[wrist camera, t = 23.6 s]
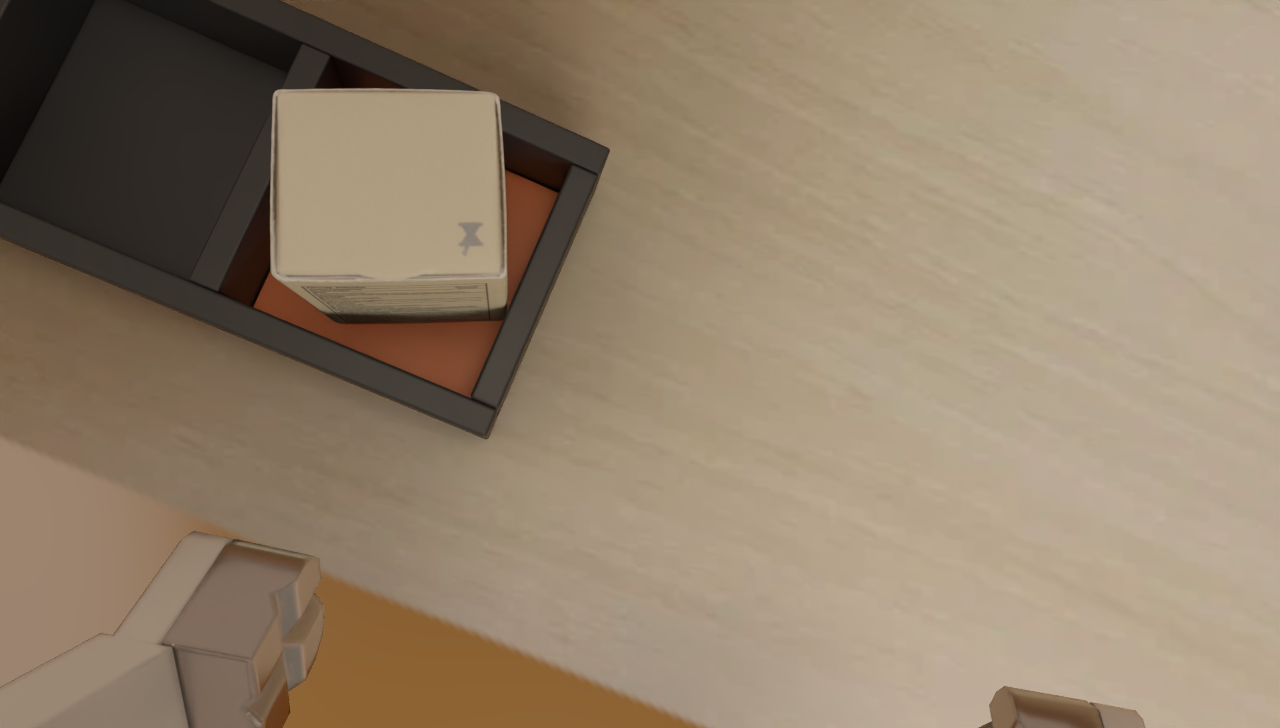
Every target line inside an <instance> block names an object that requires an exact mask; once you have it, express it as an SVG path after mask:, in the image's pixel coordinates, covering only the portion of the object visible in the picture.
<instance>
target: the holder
mask: <svg viewBox="0 0 1280 728" xmlns="http://www.w3.org/2000/svg"><path fill="white" fill-rule="evenodd" d="M339 88H340V89H356V88H359V89H372V88H381V89H434V90H462V91H480V90H478V89H476V88H474V87H471V86H469V85H467V84H465V83H462V82H460V81H458V80H456V79H454V78H451V77H449V76H447V75H445V74H442V73H440V72H438V71H436V70H433V69H431V68H429V67H427V66H425V65H422V64H420V63H418V62H416V61H413V60H411V59H409V58H407V57H405V56H402V55H400V54H398V53H396V52H393V51H391V50H389V49H387V48H384V47H382V46H380V45H378V44H376V43H373V42H371V41H369V40H367V39H364V38H362V37H360V36H358V35H355V34H353V33H351V32H349V31H347V30H344V29H342V28H340V27H338V26H335V25H333V24H331V23H329V22H327V21H324V20H322V19H320V18H318V17H315V16H313V15H311V14H309V13H306V12H304V11H302V10H300V9H298V8H295V7H293V6H291V5H289V4H286V3H284V2H282V1H280V0H0V238H2V239H4V240H7V241H9V242H11V243H14V244H16V245H19V246H21V247H23V248H26V249H28V250H31V251H33V252H35V253H38V254H40V255H43V256H45V257H48V258H50V259H52V260H55V261H57V262H60V263H62V264H64V265H67V266H69V267H72V268H74V269H76V270H79V271H81V272H84V273H86V274H89V275H91V276H93V277H96V278H98V279H101V280H103V281H105V282H108V283H110V284H113V285H115V286H117V287H120V288H122V289H125V290H127V291H130V292H132V293H134V294H137V295H139V296H142V297H144V298H146V299H149V300H151V301H154V302H156V303H158V304H161V305H163V306H166V307H168V308H171V309H173V310H175V311H178V312H180V313H183V314H185V315H187V316H190V317H192V318H195V319H197V320H199V321H202V322H204V323H207V324H209V325H212V326H214V327H216V328H219V329H221V330H224V331H226V332H228V333H231V334H233V335H236V336H238V337H240V338H243V339H245V340H248V341H250V342H253V343H255V344H257V345H260V346H262V347H265V348H267V349H269V350H272V351H274V352H277V353H279V354H281V355H284V356H286V357H289V358H291V359H294V360H296V361H298V362H301V363H303V364H306V365H308V366H310V367H313V368H315V369H318V370H320V371H322V372H325V373H327V374H330V375H332V376H335V377H337V378H339V379H342V380H344V381H347V382H349V383H351V384H354V385H356V386H359V387H361V388H363V389H366V390H368V391H371V392H373V393H376V394H378V395H380V396H383V397H385V398H388V399H390V400H392V401H395V402H397V403H400V404H402V405H404V406H407V407H409V408H412V409H414V410H417V411H419V412H421V413H424V414H426V415H429V416H431V417H433V418H436V419H438V420H441V421H443V422H445V423H448V424H450V425H453V426H455V427H458V428H460V429H462V430H465V431H467V432H470V433H472V434H474V435H477V436H479V437H482V438H484V439H488V438H489V435H490V433H491V431H492V428H493V426H494V424H495V421H496V419H497V417H498V415H499V412H500V410H501V408H502V405H503V403H504V401H505V398H506V396H507V394H508V391H509V389H510V387H511V384H512V382H513V380H514V377H515V375H516V373H517V370H518V368H519V366H520V363H521V361H522V359H523V356H524V354H525V352H526V350H527V347H528V345H529V343H530V340H531V338H532V336H533V333H534V331H535V329H536V326H537V324H538V322H539V319H540V317H541V315H542V312H543V310H544V308H545V305H546V303H547V301H548V298H549V296H550V294H551V291H552V289H553V287H554V285H555V282H556V280H557V278H558V275H559V273H560V271H561V268H562V266H563V264H564V261H565V259H566V257H567V254H568V252H569V250H570V247H571V245H572V243H573V240H574V238H575V236H576V233H577V231H578V229H579V226H580V224H581V222H582V220H583V217H584V215H585V213H586V210H587V208H588V206H589V203H590V201H591V199H592V196H593V194H594V192H595V189H596V187H597V184H598V181H599V179H600V176H601V173H602V171H603V168H604V165H605V162H606V160H607V157H608V154H609V152H610V149H609V148H607V147H605V146H603V145H601V144H598V143H596V142H594V141H592V140H589V139H587V138H585V137H583V136H581V135H578V134H576V133H574V132H572V131H569V130H567V129H565V128H563V127H560V126H558V125H556V124H554V123H552V122H549V121H547V120H545V119H543V118H540V117H538V116H536V115H534V114H532V113H529V112H527V111H525V110H523V109H520V108H518V107H516V106H514V105H511V104H509V103H507V102H505V101H503V100H500V99H499V100H500V107H501V123H502V135H503V150H504V166H505V185H506V216H507V312H506V315H505V317H504V319H503V320H494V321H464V322H435V323H396V324H340V323H337V322H335V321H333V320H332V319H331V318H329V317H328V316H327V315H325V314H324V313H322V312H321V311H319V310H318V309H317V308H316V307H314V306H313V305H312V304H310V303H309V302H308V301H306V300H305V299H303V298H302V297H300V296H299V295H298V294H296V293H295V292H294V291H292V290H291V289H289V288H288V287H287V286H286V285H284V284H283V283H281V282H280V281H278V280H277V279H276V278H274V277H273V275H272V273H271V265H270V181H271V134H272V98H273V94H274V92H275V91H276V90H280V89H339Z"/></svg>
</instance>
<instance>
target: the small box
mask: <svg viewBox="0 0 1280 728" xmlns="http://www.w3.org/2000/svg"><path fill="white" fill-rule="evenodd" d="M270 265H271V273H272V275H273V277H274V278H276V279H277V280H278V281H280V282H281V283H283V284H284V285H286V286H287V287H288V288H289V289H291V290H292V291H294V292H295V293H296V294H298V295H299V296H300V297H302V298H303V299H305V300H306V301H308V302H309V303H310V304H312V305H313V306H314V307H316V308H317V309H318V310H319V311H321V312H322V313H324V314H325V315H327V316H328V317H329V318H331V319H332V320H333V321H335V322H337V323H340V324H396V323H435V322H464V321H494V320H503V319H504V317H505V315H506V312H507V216H506V185H505V166H504V150H503V135H502V123H501V107H500V100H499V96H498V95H497V94H495V93H493V92H483V91H462V90H434V89H381V88H372V89H359V88H356V89H340V88H339V89H280V90H276V91H275V92H274V94H273V98H272V134H271V181H270Z"/></svg>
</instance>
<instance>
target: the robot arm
mask: <svg viewBox="0 0 1280 728" xmlns="http://www.w3.org/2000/svg"><path fill="white" fill-rule="evenodd" d="M321 578H322V576H321V568H320V559H319V558H317V557H315V556H311V555H307V554H302V553H297V552H293V551H288V550H284V549H279V548H274V547H270V546H265V545H261V544H256V543H251V542H247V541H242V540H238V539H231V538H227V537H222V536H217V535H212V534H207V533H202V532H197V531H193V532H191V533H190V534H189V535H187V536H186V537H184V538H183V539H182V540H181V541H180V542H179V543H178V545H177V546H176V548H175V549H174V551H173V552H172V553H171V555H170V556H169V558H168V559H167V560H166V562H165V563H164V564H163V566H162V567H161V569H160V570H159V571H158V573H157V574H156V576H155V577H154V578H153V580H152V581H151V583H150V584H149V585H148V587H147V588H146V590H145V591H144V592H143V594H142V595H141V597H140V598H139V599H138V601H137V602H136V604H135V605H134V607H133V608H132V609H131V611H130V612H129V613H128V615H127V616H126V618H125V619H124V620H123V622H122V623H121V625H120V626H119V628H118V629H117V631H116V632H115V633H114V635H108V634H102V633H100V634H98V635H96V636H94V637H93V638H91V639H89V640H87V641H85V642H83V643H81V644H80V645H78V646H76V647H74V648H72V649H70V650H68V651H67V652H65V653H63V654H61V655H59V656H57V657H55V658H53V659H52V660H50V661H48V662H46V663H44V664H42V665H41V666H39V667H37V668H35V669H33V670H31V671H29V672H27V673H26V674H24V675H22V676H20V677H18V678H16V679H14V680H12V681H11V682H9V683H7V684H5V685H3V686H1V687H0V728H282V727H283V725H284V723H285V721H286V719H287V717H288V715H289V713H290V706H289V696H288V691H290V690H291V689H293V688H294V687H296V686H297V685H299V684H300V683H302V682H303V681H305V680H306V678H307V676H308V674H309V672H310V670H311V668H312V665H313V663H314V661H315V658H316V655H317V652H318V648H319V645H320V641H321V638H322V634H323V625H324V603H323V602H322V601H321V600H320V599H319V597H318V596H317V595H316V594H315V593H314V592H315V590H316V588H317V586H318V584H319V582H320V580H321ZM989 707H990V713H991V718H992V721H991V722H989V723H987V724H985V725H983V726H981V727H979V728H1146V727H1145V724H1144V721H1143V719H1142V718H1141V717H1140V715H1139V714H1138V713H1137V712H1136V711H1135V710H1129V709H1124V708H1119V707H1114V706H1108V705H1103V704H1098V703H1092V702H1091V703H1089V702H1087V701H1085V700H1080V699H1074V698H1068V697H1063V696H1057V695H1052V694H1046V693H1040V692H1035V691H1029V690H1023V689H1018V688H1012V687H1006V686H1004V687H1003V688H1001V689H1000V690H998V691H997V692H996V694H995V696H994V697H993V699H992V701H991V703H990V705H989Z"/></svg>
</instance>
